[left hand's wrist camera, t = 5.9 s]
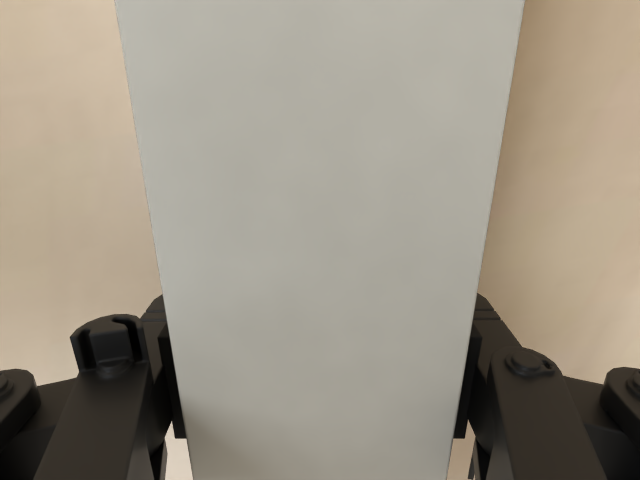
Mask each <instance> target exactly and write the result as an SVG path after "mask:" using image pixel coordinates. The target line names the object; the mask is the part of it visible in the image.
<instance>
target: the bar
mask: <svg viewBox="0 0 640 480" xmlns="http://www.w3.org/2000/svg"><path fill="white" fill-rule="evenodd" d="M114 1H115V7H116V13H117V19H118V25H119V31H120V37H121V43H122V49H123V55H124V62H125V68H126V74H127V80H128V86H129V92H130V98H131V104H132V110H133V116H134V122H135V128H136V135H137V141H138V147H139V153H140V159H141V165H142V171H143V177H144V183H145V189H146V195H147V201H148V207H149V214H150V220H151V226H152V232H153V238H154V244H155V250H156V256H157V262H158V268H159V274H160V280H161V286H162V293H163V299H164V305H165V311H166V317H167V323H168V329H169V335H170V341H171V347H172V353H173V359H174V365H175V372H176V378H177V384H178V390H179V396H180V402H181V408H182V414H183V420H184V426H185V432H186V438H187V445H188V451H189V457H190V463H191V469H192V475H193V480H446V479H447V473H448V467H449V461H450V455H451V449H452V442H453V436H454V430H455V424H456V418H457V412H458V406H459V400H460V394H461V388H462V382H463V375H464V369H465V363H466V357H467V351H468V345H469V339H470V333H471V327H472V321H473V315H474V308H475V302H476V296H477V290H478V284H479V278H480V272H481V266H482V260H483V254H484V247H485V241H486V235H487V229H488V223H489V217H490V211H491V205H492V199H493V193H494V187H495V180H496V174H497V168H498V162H499V156H500V150H501V144H502V138H503V132H504V126H505V119H506V113H507V107H508V101H509V95H510V89H511V83H512V77H513V71H514V65H515V59H516V52H517V46H518V40H519V34H520V28H521V22H522V16H523V10H524V4H525V0H114Z"/></svg>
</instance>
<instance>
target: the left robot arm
mask: <svg viewBox="0 0 640 480" xmlns="http://www.w3.org/2000/svg"><path fill="white" fill-rule="evenodd" d="M70 340H71V343H72V347H73V351H74V354H75V358H76V361H77V365H78V369H79V374H78V376H77V377H76V378H73V379H69V380H65V381H60V382H55V383H50V384H46V385H41V386H37V385H36V382H35V379H34V376H33V375H32V374H31V373H30V372H29V371H27V370H21V369H10V370H2V371H0V480H165V473H166V463H167V448H166V442H165V435H166V433H167V430H168V428H169V426H170V424H171V421H172V424H173V429H174V435H175V438H186V432H185V426H184V420H183V414H182V408H181V402H180V396H179V390H178V384H177V378H176V372H175V365H174V359H173V353H172V347H171V341H170V335H169V329H168V323H167V317H166V311H165V305H164V299H163V294H162V295H161V296H159V297H158V298H156V299H155V300H154V301H153V302H152V303H151V305H150V306H149V307H148V309H147V310H146V313H144V314H143V315H142V317H141V318H140V319H139V318H138V317H137V316H133V315H129V314H114V315H109V316H104V317H100V318H98V319H95V320H92V321H90V322H87V323H86V324H84V325H83V326H81V327H80V328H78V329H76V331H75V332H74V333H73V334H72V335H71V336H70ZM468 420H469V422H470V424H471V427H472V429H473V431H474V434H475V436H476V437H475V442H474V448H473V453H472V458H471V463H470V468H469V474H468V479H471V480H473V478H474V473H475V480H640V369H637V368H628V367H620V368H613V369H612V370H611V371H609V372H608V373H607V375H606V378H605V381H604V384H598V383H593V382H588V381H583V380H579V379H574V378H570V377H566V376H563V375H562V373H561V371H560V369H559V368H558V367H557V365H556V364H555V363H554V362H553V361H551V360H550V359H549V358H547V357H546V356H545V355H543V354H540V353H538V352H536V351H534V350H531V349H527V348H523V347H522V346H521V345H520V343H519V342H518V341H517V339H516V338H515V337H514V335H513V334H512V333H511V331H510V330H509V329H508V327H507V326H506V325H505V323H504V322H503V321H502V320H500V317H499V315H498V314H497V313H496V311H494V309H493V307H492V306H491V305H490V303H489V302H488V301H487V299H486V298H484V297H483V296H481V295H480V294H478V293H477V296H476V302H475V308H474V315H473V321H472V327H471V333H470V339H469V345H468V351H467V357H466V363H465V369H464V375H463V382H462V388H461V394H460V400H459V406H458V412H457V418H456V424H455V430H454V436H453V438H465V433H466V428H467V422H468Z"/></svg>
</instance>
